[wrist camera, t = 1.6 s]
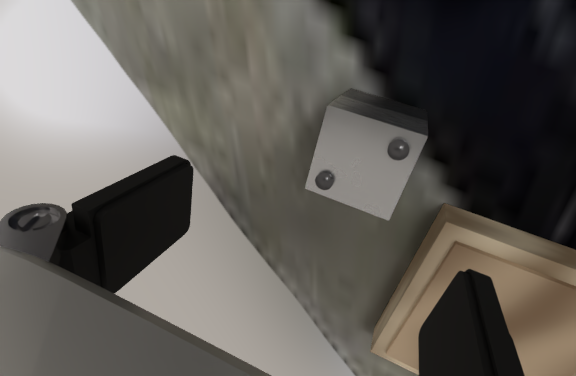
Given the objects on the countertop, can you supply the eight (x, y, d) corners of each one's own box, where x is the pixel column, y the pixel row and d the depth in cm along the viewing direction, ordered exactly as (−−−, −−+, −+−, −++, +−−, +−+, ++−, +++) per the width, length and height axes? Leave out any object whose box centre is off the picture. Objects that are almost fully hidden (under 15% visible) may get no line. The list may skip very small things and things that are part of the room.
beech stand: (648, 275, 19) (683, 312, 16) (514, 393, 26) (524, 432, 23) (444, 202, 21) (446, 225, 19) (374, 327, 28) (369, 355, 26)
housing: (427, 110, 19) (428, 137, 14) (396, 178, 22) (388, 223, 17) (351, 88, 20) (325, 106, 15) (330, 155, 23) (302, 190, 18)
